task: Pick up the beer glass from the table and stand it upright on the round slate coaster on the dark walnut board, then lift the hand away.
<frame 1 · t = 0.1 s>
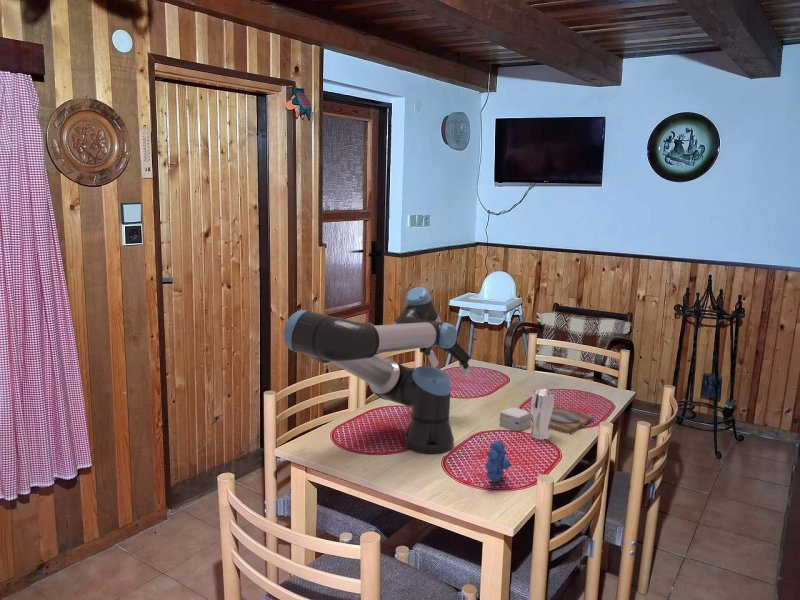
hand: (451, 369, 232), 15 cm above the table, tool tilted 35°, fingers open, 13 cm apart
beer glass: (540, 437, 213), on the table
grapes: (498, 483, 179), on the table
small box: (515, 426, 222), on the table
walnut board: (563, 421, 227), on the table
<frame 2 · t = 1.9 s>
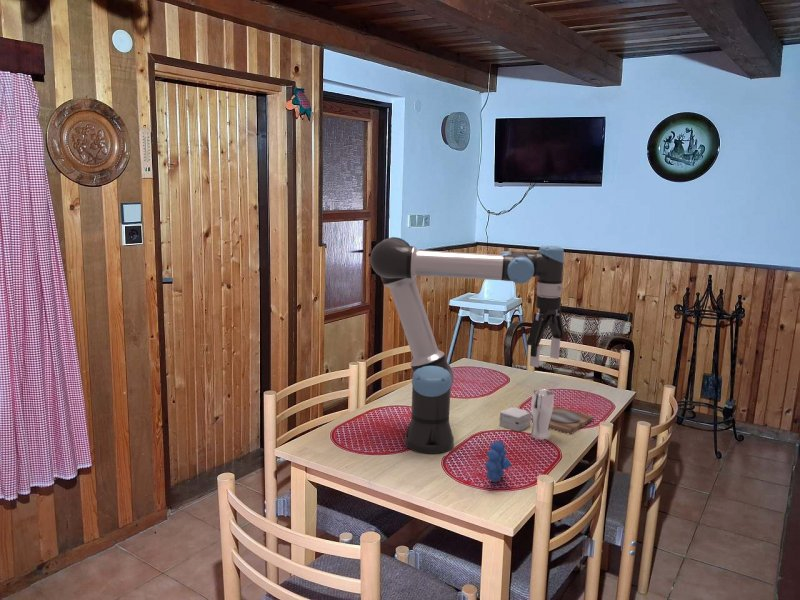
hand: (544, 362, 209), 25 cm above the table, tool pointing down, fingers open, 13 cm apart
nothing on the table moved.
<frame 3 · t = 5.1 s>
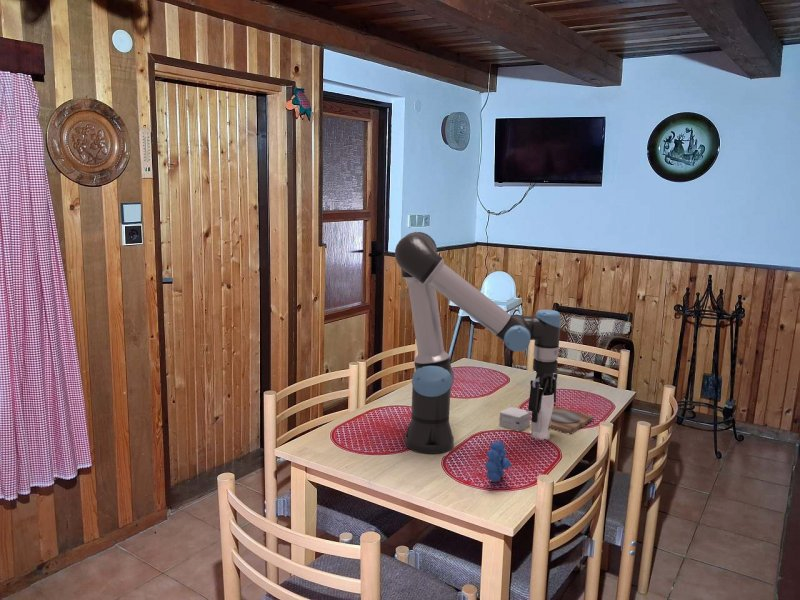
hand: (540, 428, 213), 3 cm above the table, tool pointing down, fingers closed on beer glass, 7 cm apart
beer glass: (540, 437, 213), on the table, touching gripper
everything else where it was.
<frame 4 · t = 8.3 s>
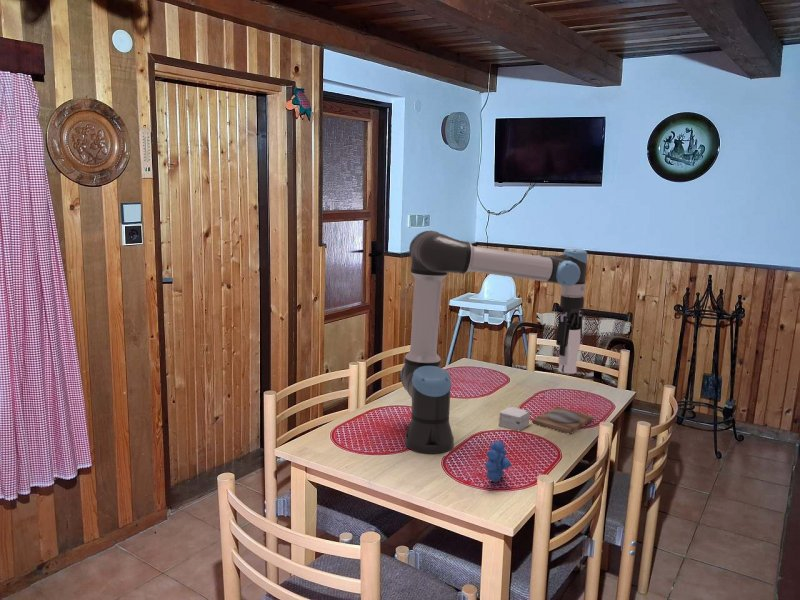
hand: (567, 362, 223), 21 cm above the table, tool pointing down, fingers closed on beer glass, 7 cm apart
beer glass: (567, 371, 224), point 18 cm above the table, touching gripper
everything else where it was.
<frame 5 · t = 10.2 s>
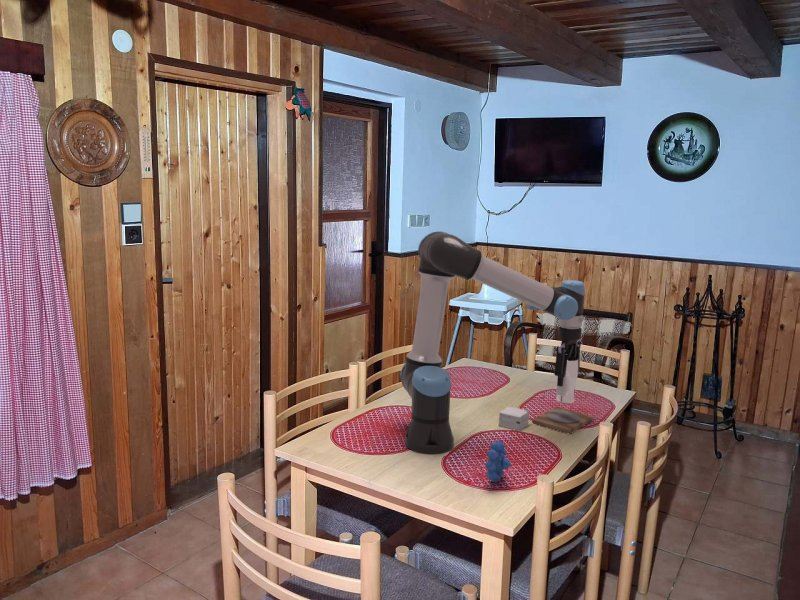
hand: (565, 392, 225), 11 cm above the table, tool pointing down, fingers closed on beer glass, 7 cm apart
beer glass: (565, 401, 226), point 7 cm above the table, touching gripper
everything else where it was.
when the fingers open (6 cm above the table, at t = 11.8 s): beer glass drops 1 cm, resting on walnut board.
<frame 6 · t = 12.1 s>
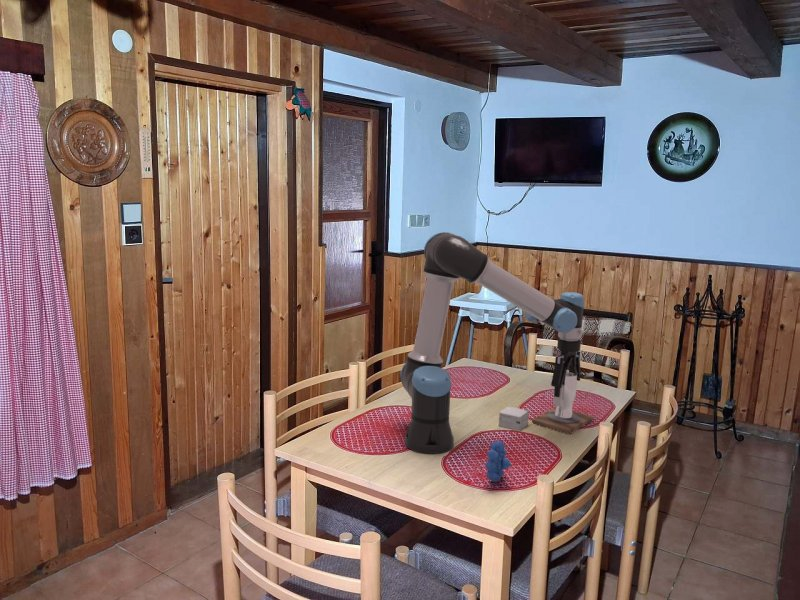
hand: (564, 401, 226), 7 cm above the table, tool pointing down, fingers open, 10 cm apart
beer glass: (563, 416, 227), point 2 cm above the table, touching walnut board
everything else where it was.
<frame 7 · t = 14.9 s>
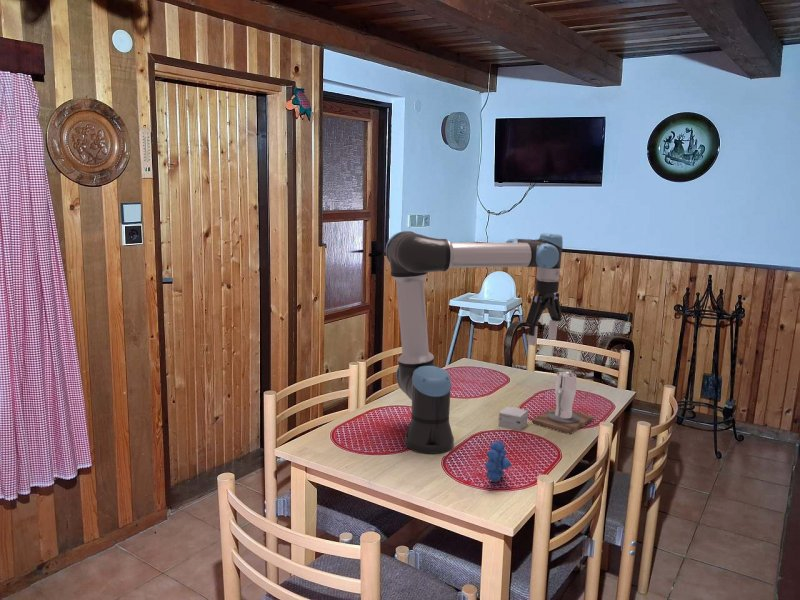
hand: (542, 342, 224), 28 cm above the table, tool pointing down, fingers open, 13 cm apart
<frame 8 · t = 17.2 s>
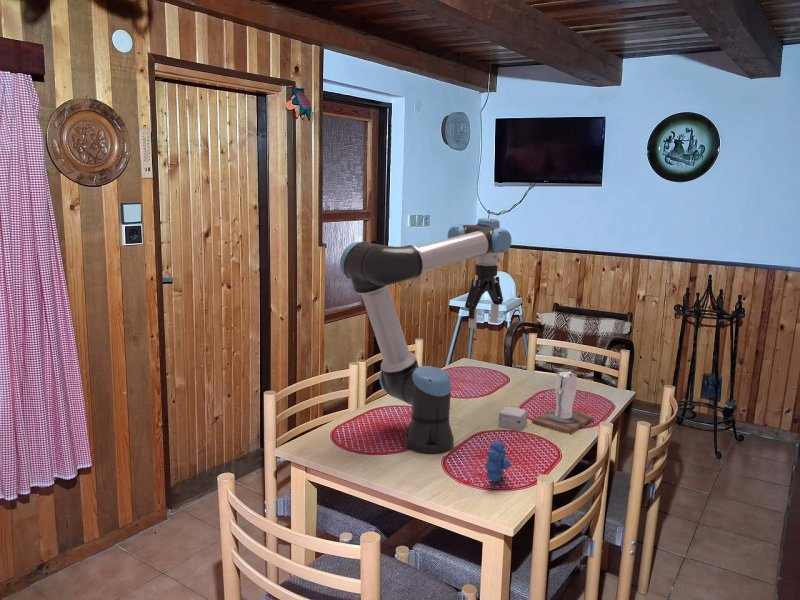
hand: (483, 325, 228), 32 cm above the table, tool pointing down, fingers open, 13 cm apart
at the end: beer glass inside the target area on the walnut board (0.1 cm from its centre), point 1.8 cm above the walnut board's base; beer glass tilted 0°; the gripper is holding nothing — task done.
